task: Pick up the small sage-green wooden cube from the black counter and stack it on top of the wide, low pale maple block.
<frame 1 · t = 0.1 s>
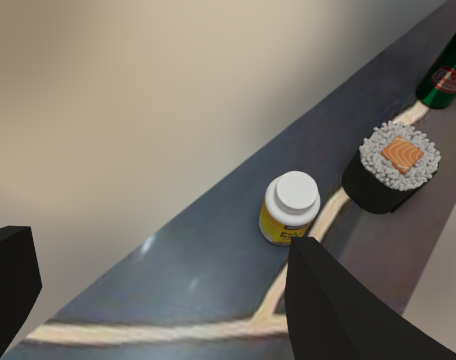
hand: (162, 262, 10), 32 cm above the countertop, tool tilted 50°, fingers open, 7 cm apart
supplement bottle: (281, 224, 45), on the countertop
sushi: (375, 183, 47), on the countertop
soda can: (432, 96, 53), on the countertop
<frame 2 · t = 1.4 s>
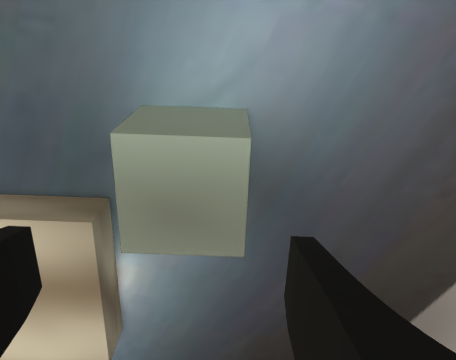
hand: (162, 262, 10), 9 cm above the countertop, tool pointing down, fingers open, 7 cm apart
maple block: (41, 261, 22), on the countertop
green cube: (194, 156, 19), on the countertop
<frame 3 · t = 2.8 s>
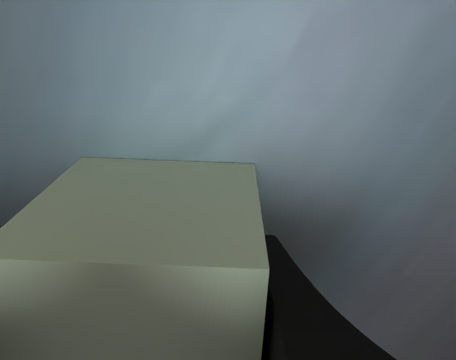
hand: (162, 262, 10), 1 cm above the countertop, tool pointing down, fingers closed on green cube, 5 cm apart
green cube: (170, 235, 12), on the countertop, touching gripper
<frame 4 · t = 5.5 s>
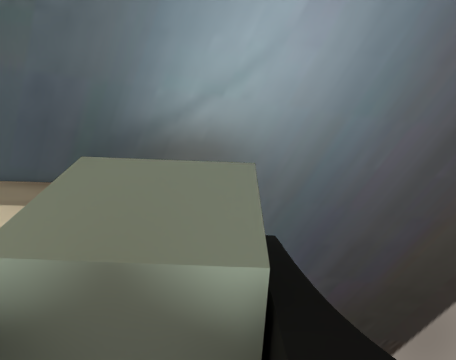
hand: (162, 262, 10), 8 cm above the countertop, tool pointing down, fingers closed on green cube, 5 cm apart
maple block: (57, 253, 21), on the countertop
green cube: (170, 234, 12), point 7 cm above the countertop, touching gripper
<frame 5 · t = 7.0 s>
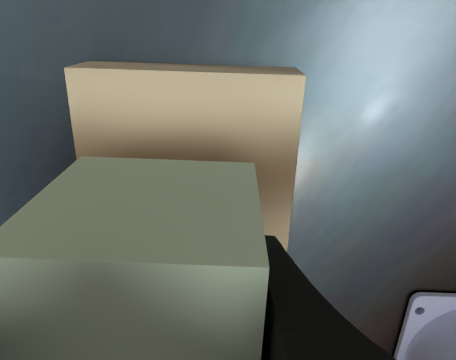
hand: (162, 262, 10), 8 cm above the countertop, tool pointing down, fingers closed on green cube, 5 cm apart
maple block: (193, 158, 18), on the countertop
green cube: (170, 234, 12), point 7 cm above the countertop, touching gripper
when the fingers open (5 cm above the countertop, at t = 8.1 s): green cube drops 1 cm, point 3 cm above the countertop.
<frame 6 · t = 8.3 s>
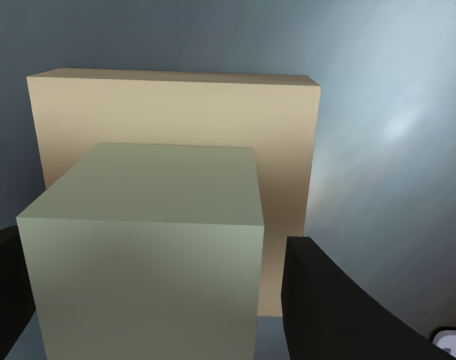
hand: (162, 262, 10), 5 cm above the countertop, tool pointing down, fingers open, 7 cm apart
maple block: (187, 179, 16), on the countertop
green cube: (177, 213, 13), point 3 cm above the countertop
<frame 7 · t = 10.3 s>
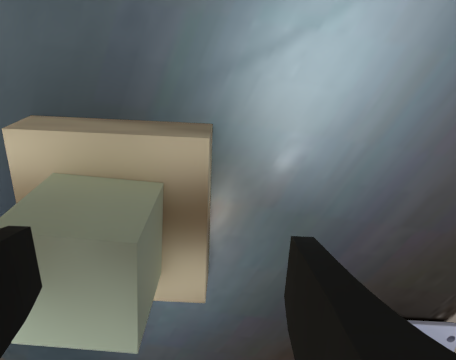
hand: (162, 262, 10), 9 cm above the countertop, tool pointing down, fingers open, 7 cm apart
maple block: (129, 197, 21), on the countertop
green cube: (110, 225, 18), point 3 cm above the countertop
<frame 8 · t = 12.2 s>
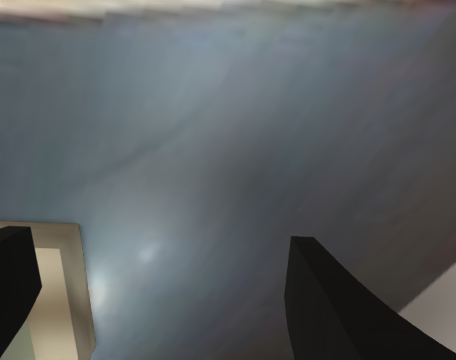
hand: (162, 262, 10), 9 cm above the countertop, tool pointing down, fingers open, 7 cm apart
maple block: (18, 281, 23), on the countertop, touching green cube
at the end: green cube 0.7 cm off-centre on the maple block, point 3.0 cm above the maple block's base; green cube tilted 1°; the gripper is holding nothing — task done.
